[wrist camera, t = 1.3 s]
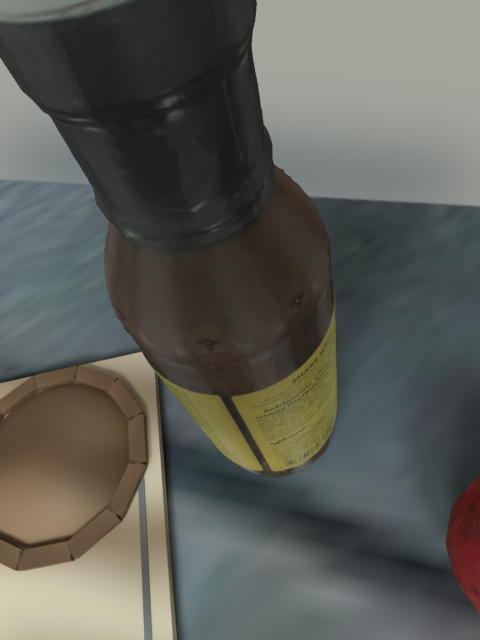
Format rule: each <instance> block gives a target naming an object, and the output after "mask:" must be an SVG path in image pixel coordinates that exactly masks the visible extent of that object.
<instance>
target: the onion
mask: <svg viewBox="0 0 480 640" xmlns="http://www.w3.org/2000/svg"><path fill="white" fill-rule="evenodd" d="M446 547H447V550H448V554H449V558H450V561H451V565H452V569H453V572H454V576H455V580H456V582H457V583H458V584H459V586H460V587H461V589H462V590H463V591H464V593H465V594H466V595H467V597H468V598H469V600H470V601H471V602H472V604H473V605H474V607H475V608H476V609H477V611H478V612H479V614H480V477H478V478H476V479H474V480H473V481H472V483H471V484H470V485H469V486H468V487H467V489H466V490H465V491H464V492H463V494H462V495H461V496H460V497H459V498H458V500H457V501H456V502H455V503H454V505H453V507H452V509H451V514H450V520H449V526H448V532H447V538H446Z"/></svg>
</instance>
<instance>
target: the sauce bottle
mask: <svg viewBox="0 0 480 640" xmlns="http://www.w3.org/2000/svg"><path fill="white" fill-rule="evenodd" d="M256 6H257V3H256V0H0V58H1V59H2V61H3V62H4V64H5V66H6V67H7V69H8V70H9V72H10V73H11V75H12V76H13V78H14V79H15V81H16V82H17V84H18V85H19V87H20V88H21V90H22V91H23V92H24V93H25V94H26V95H28V96H29V97H30V98H31V99H32V100H33V101H34V102H35V103H36V104H37V105H38V106H39V107H40V109H41V110H42V111H43V112H45V113H47V114H48V115H49V116H50V117H51V118H52V120H53V122H54V123H55V125H56V127H57V129H58V131H59V132H60V134H61V136H62V137H63V139H64V140H65V142H66V144H67V146H68V147H69V149H70V151H71V153H72V154H73V156H74V158H75V159H76V160H77V162H78V164H79V165H80V167H81V168H82V170H83V172H84V174H85V175H86V177H87V178H88V180H89V182H90V184H91V185H92V187H93V190H94V194H95V199H96V204H97V206H98V207H99V208H100V210H101V211H102V213H103V214H104V215H105V217H106V218H107V219H108V220H109V229H108V233H107V238H106V246H105V259H104V264H105V275H106V285H107V290H108V293H109V297H110V300H111V305H112V307H113V308H114V310H115V312H116V316H117V318H118V319H119V320H120V321H121V323H122V324H123V327H124V329H125V330H126V331H127V332H128V333H129V334H130V335H131V336H132V337H133V339H134V340H135V342H136V343H137V344H138V345H139V347H140V349H141V352H142V353H143V355H144V357H145V358H146V360H147V362H148V363H149V365H150V366H151V367H152V368H153V370H154V371H155V372H156V373H157V375H158V376H159V377H160V378H161V380H162V381H163V382H164V383H165V384H166V386H167V387H168V388H169V389H170V391H171V392H172V393H173V394H174V395H175V397H176V398H177V399H178V400H179V401H180V403H181V404H182V405H183V406H184V408H185V409H186V410H187V411H188V412H189V414H190V415H191V416H192V417H193V419H194V420H195V421H196V422H197V423H198V425H199V426H200V427H201V428H202V430H203V431H204V432H205V434H206V435H207V436H208V437H209V438H210V439H211V441H212V442H213V443H214V444H215V445H216V447H217V448H218V449H219V450H220V451H221V452H222V453H223V454H224V455H225V456H226V457H227V458H228V459H229V460H230V461H231V462H233V463H236V464H237V465H238V466H239V467H241V468H243V469H245V470H247V471H250V472H252V473H255V474H258V475H263V476H268V477H274V478H277V477H284V476H288V475H290V474H292V473H295V472H298V471H300V470H302V469H303V468H305V467H307V466H308V465H310V464H311V463H313V462H314V461H315V460H316V459H318V458H319V457H320V456H321V455H322V454H323V453H324V451H325V450H326V448H327V447H328V445H329V441H330V438H331V434H332V431H333V427H334V424H335V419H336V414H337V366H336V320H335V292H334V285H333V281H332V277H331V252H330V245H329V237H328V235H327V232H326V230H325V227H324V224H323V222H322V220H321V218H320V215H319V212H318V209H317V208H316V206H315V205H314V203H313V202H312V201H311V200H310V198H309V196H308V195H307V194H306V193H305V192H304V191H303V190H302V188H301V187H300V186H299V185H298V184H297V183H295V182H294V181H293V180H292V179H291V177H290V176H288V175H286V174H285V173H284V170H282V169H280V168H278V167H277V166H275V165H274V163H273V159H272V141H271V138H270V135H269V133H268V131H267V129H266V127H265V126H264V124H263V117H262V109H261V105H260V96H259V90H258V83H257V78H256V73H255V67H254V62H253V55H252V45H251V44H252V33H253V27H254V23H255V16H256Z"/></svg>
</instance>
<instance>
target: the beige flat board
mask: <svg viewBox="0 0 480 640" xmlns="http://www.w3.org/2000/svg"><path fill="white" fill-rule="evenodd" d="M0 640H177V631H176V618H175V604H174V590H173V576H172V563H171V549H170V535H169V521H168V508H167V494H166V480H165V467H164V453H163V439H162V425H161V412H160V398H159V384H158V375H157V373H156V372H155V371H154V370H153V368H152V367H151V366H150V365H149V363H148V362H147V360H146V358H145V357H144V355H143V353H142V352H138V353H134V354H130V355H125V356H121V357H116V358H112V359H107V360H103V361H98V362H94V363H89V364H85V365H80V366H73V367H68V368H64V369H59V370H55V371H50V372H46V373H42V374H37V375H35V376H31V377H27V378H22V379H18V380H13V381H9V382H4V383H0Z"/></svg>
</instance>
